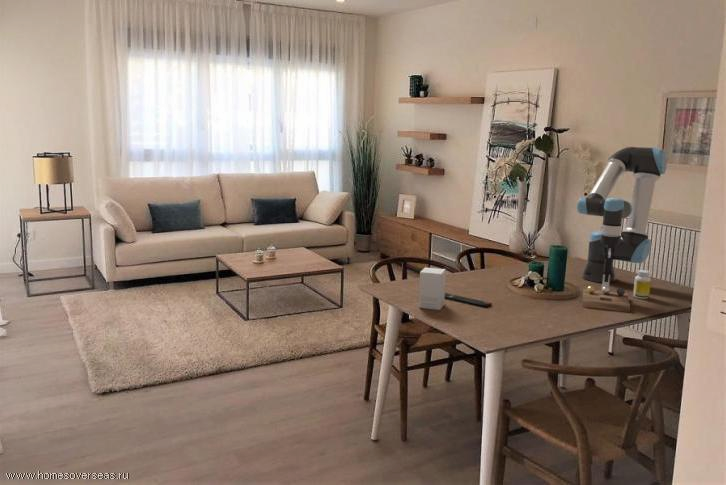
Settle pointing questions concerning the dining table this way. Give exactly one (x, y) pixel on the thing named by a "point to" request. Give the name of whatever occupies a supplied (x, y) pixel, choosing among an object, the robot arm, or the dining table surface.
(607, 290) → the steel ball
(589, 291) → the brass ball
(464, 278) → the dining table surface
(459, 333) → the dining table surface
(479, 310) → the dining table surface
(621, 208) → the robot arm
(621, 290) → the rubber ball
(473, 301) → the remote control
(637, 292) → the pill bottle
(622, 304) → the board
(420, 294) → the supplement box
